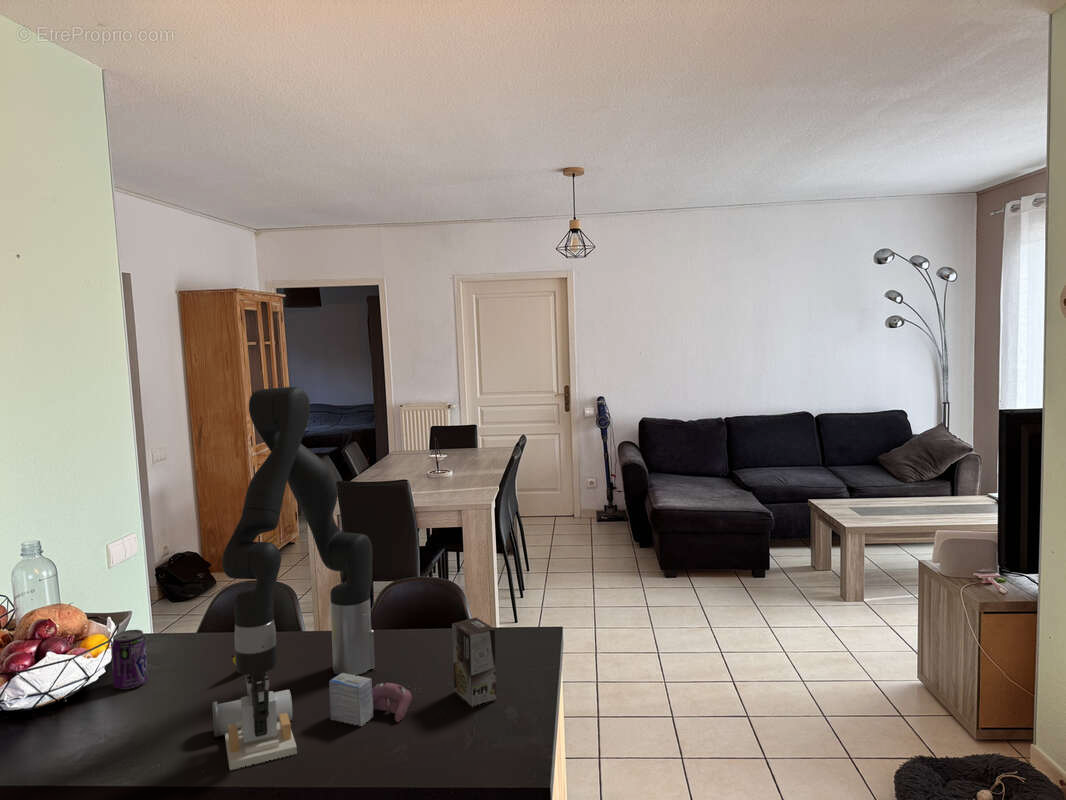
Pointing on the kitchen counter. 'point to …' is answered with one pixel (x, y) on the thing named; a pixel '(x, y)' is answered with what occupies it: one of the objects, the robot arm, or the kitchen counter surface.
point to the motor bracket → (257, 750)
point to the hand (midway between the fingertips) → (259, 728)
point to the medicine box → (351, 699)
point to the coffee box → (474, 661)
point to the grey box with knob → (248, 719)
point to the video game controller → (395, 692)
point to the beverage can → (129, 659)
